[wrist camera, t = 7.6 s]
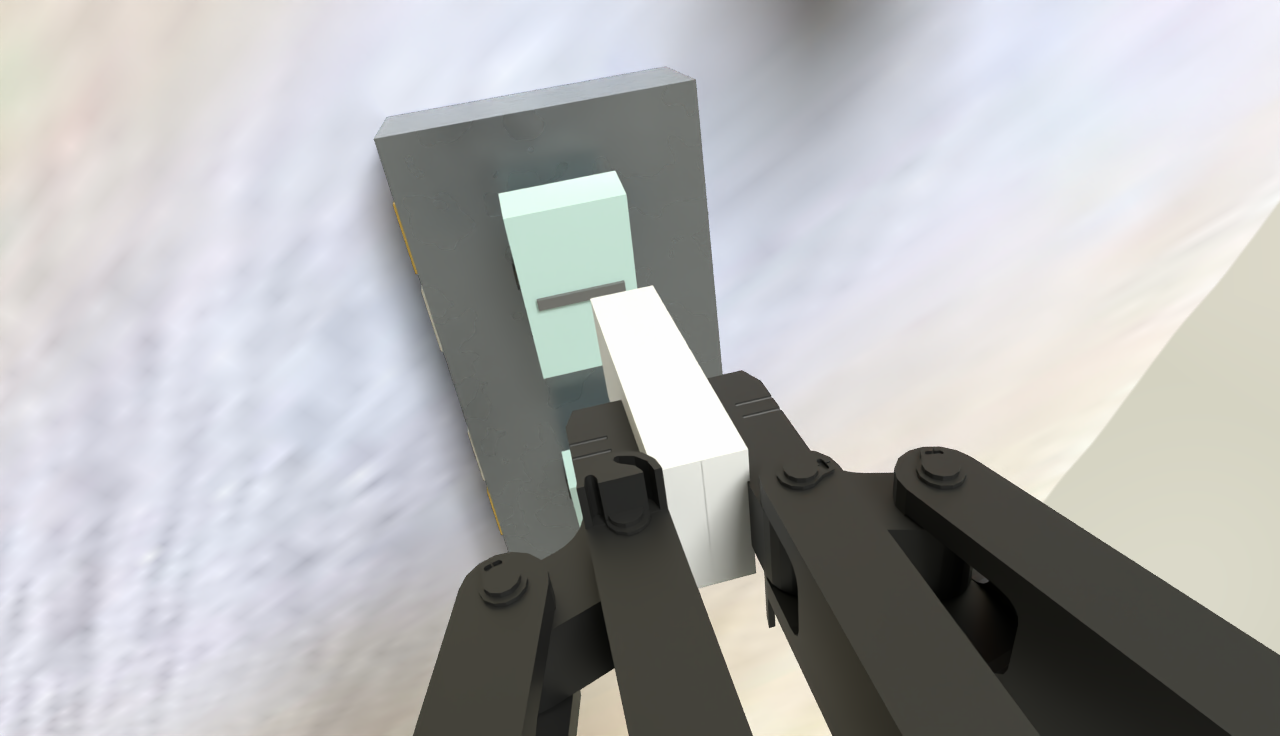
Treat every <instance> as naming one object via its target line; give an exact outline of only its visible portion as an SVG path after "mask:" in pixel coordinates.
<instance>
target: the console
mask: <svg viewBox="0 0 1280 736" xmlns="http://www.w3.org/2000/svg"><path fill="white" fill-rule="evenodd" d="M374 141H375V144H376V147H377V150H378V153H379V156H380V159H381V162H382V166H383V169H384V172H385V175H386V178H387V181H388V184H389V187H390V190H391V193H392V196H393V199H394V202H393V207H394V210H395V213H396V216H397V219H398V222H399V225H400V228H401V231H402V234H403V237H404V240H405V243H406V246H407V250H408V253H409V256H410V259H411V262H412V265H413V268H414V271H415V274H418V276H419V279H420V282H421V285H422V286H421V292H422V295H423V298H424V301H425V304H426V307H427V311H428V314H429V317H430V320H431V323H432V326H433V329H434V332H435V335H436V338H437V341H438V344H439V347H440V350H441V351H443V353H444V356H445V359H446V362H447V365H448V368H449V371H450V374H451V377H452V380H453V383H454V386H455V389H456V392H457V396H458V399H459V402H460V405H461V408H462V411H463V414H464V417H465V420H466V423H467V426H468V436H469V439H470V442H471V445H472V448H473V451H474V454H475V457H476V460H477V463H478V466H479V469H480V472H481V475H482V478H483V481H484V480H485V481H486V484H487V493H488V497H489V500H490V503H491V506H492V509H493V512H494V515H495V518H496V521H497V524H498V527H499V530H500V533H501V535H503V537H504V540H505V543H506V546H507V549H508V552H521V553H529V554H531V555H533V556H535V557H537V558H539V559H540V560H542V559H544V558H546V557H548V556H549V555H551V554H553V553H555V552H556V551H558V550H559V549H561V548H563V547H564V546H565V545H566V544H568V543H569V542H570V541H571V540H572V539H573V538H574V536H575V535H576V533H577V532H578V530H579V529H580V526H579V522H578V519H577V515H576V511H575V508H574V504H573V500H572V497H571V493H570V489H569V485H568V480H567V475H566V471H565V466H564V461H563V457H562V451H566V450H570V448H569V443H568V438H567V433H566V428H565V427H566V425H567V423H568V420H569V418H570V416H571V413H572V411H574V410H578V409H583V408H587V407H592V406H596V405H600V404H605V403H609V402H610V400H609V397H608V392H607V387H606V381H605V376H604V371H603V365H602V366H598V367H593V368H589V369H585V370H580V371H576V372H571V373H567V374H563V375H558V376H554V377H550V378H545V379H544V378H543V374H542V370H541V366H540V362H539V358H538V354H537V351H536V347H535V343H534V339H533V335H532V331H531V327H530V323H529V319H528V315H527V311H526V307H525V303H524V300H523V296H522V292H521V288H520V284H519V280H518V276H517V272H516V268H515V264H514V260H513V256H512V252H511V249H510V245H509V241H508V237H507V233H506V229H505V225H504V221H503V216H502V211H501V206H500V200H499V195H498V194H499V193H504V192H509V191H514V190H519V189H524V188H530V187H535V186H540V185H545V184H550V183H555V182H560V181H565V180H570V179H575V178H580V177H585V176H590V175H595V174H601V173H606V172H611V171H616V173H617V176H618V178H619V180H620V182H621V184H622V186H623V188H624V190H625V192H626V195H627V203H628V212H629V221H630V230H631V238H632V247H633V256H634V264H635V273H636V282H637V289H638V288H643V287H648V286H652V285H653V287H654V288H655V290H656V292H657V294H658V295H659V297H660V299H661V300H662V302H663V304H664V306H665V307H666V309H667V311H668V312H669V314H670V316H671V318H672V319H673V321H674V323H675V325H676V326H677V328H678V330H679V331H680V333H681V335H682V337H683V338H684V340H685V342H686V343H687V345H688V347H689V349H690V350H691V352H692V354H693V355H694V357H695V359H696V361H697V362H698V364H699V366H700V367H701V369H702V371H703V373H704V374H705V376H706V378H711V377H715V376H720V375H723V374H722V363H721V352H720V341H719V330H718V319H717V308H716V297H715V286H714V275H713V264H712V253H711V242H710V231H709V220H708V209H707V198H706V187H705V176H704V165H703V154H702V143H701V132H700V121H699V110H698V99H697V88H696V79H693V78H691V77H689V76H687V75H684V74H682V73H680V72H677V71H675V70H673V69H670V68H668V67H661V68H656V69H650V70H644V71H639V72H633V73H628V74H622V75H617V76H611V77H606V78H600V79H595V80H589V81H584V82H578V83H573V84H567V85H562V86H556V87H551V88H545V89H540V90H534V91H529V92H523V93H518V94H512V95H507V96H501V97H496V98H490V99H485V100H479V101H473V102H468V103H462V104H457V105H451V106H446V107H440V108H435V109H429V110H424V111H418V112H413V113H407V114H402V115H396V116H391V117H387V118H386V119H385V121H384V123H383V124H382V126H381V128H380V129H379V131H378V133H377V134H376V136H375V138H374Z"/></svg>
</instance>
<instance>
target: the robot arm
mask: <svg viewBox="0 0 1280 736" xmlns="http://www.w3.org/2000/svg"><path fill="white" fill-rule="evenodd" d="M590 301H591V306H592V312H593V317H594V322H595V328H596V333H597V339H598V344H599V349H600V355H601V360H602V365H603V371H604V376H605V381H606V387H607V392H608V397H609V400H610V402H609V403H605V404H600V405H596V406H592V407H587V408H583V409H578V410H574V411H572V413H571V416H570V418H569V420H568V423H567V425H566V427H565V428H566V433H567V438H568V443H569V448H570V453H571V457H572V462H573V467H574V472H575V477H576V482H577V485H576V490H577V494H578V499H579V503H580V507H581V512H582V516H583V520H582V523H581V526H580V529H579V530H578V532H577V533H576V535H575V536H574V538H573V539H572V540H571V541H570V542H569V543H568V544H566V545H565V546H564V547H563V548H561V549H559V550H558V551H556V552H555V553H553V554H551V555H549V556H548V557H546V558H544V559H542V560H540V559H539V558H537V557H535V556H533V555H531V554H529V553H521V552H509V553H504V554H500V555H495V556H493V557H491V558H489V559H487V560H486V561H484V562H482V563H480V564H478V565H477V566H476V567H475V568H474V569H473V570H472V571H471V572H470V573H469V574H468V575H467V576H466V577H465V579H464V581H463V583H462V585H461V587H460V588H459V591H458V594H457V597H456V601H455V604H454V607H453V610H452V613H451V616H450V620H449V623H448V626H447V629H446V632H445V635H444V639H443V642H442V645H441V648H440V651H439V655H438V658H437V661H436V664H435V667H434V670H433V674H432V677H431V680H430V683H429V686H428V689H427V693H426V696H425V699H424V702H423V705H422V709H421V712H420V715H419V718H418V721H417V724H416V728H415V731H414V734H413V736H576V735H577V726H578V717H579V707H580V698H581V692H580V690H581V689H582V688H584V687H585V686H587V685H589V684H590V683H592V682H593V681H595V680H596V679H598V678H600V677H601V676H603V675H604V674H606V673H608V672H609V671H611V670H612V669H614V668H615V672H616V676H617V681H618V686H619V691H620V695H621V700H622V705H623V710H624V714H625V719H626V724H627V729H628V733H629V736H753V735H752V732H751V730H750V727H749V724H748V722H747V719H746V716H745V713H744V711H743V708H742V705H741V703H740V700H739V697H738V695H737V692H736V689H735V687H734V684H733V681H732V679H731V676H730V673H729V671H728V668H727V665H726V662H725V660H724V657H723V654H722V652H721V649H720V646H719V644H718V641H717V638H716V636H715V633H714V630H713V628H712V625H711V622H710V619H709V617H708V614H707V611H706V609H705V606H704V603H703V601H702V598H701V595H700V593H699V590H698V588H702V587H705V586H709V585H713V584H717V583H721V582H724V581H728V580H732V579H736V578H740V577H743V576H747V575H751V574H755V573H756V566H755V554H756V556H757V558H758V560H759V562H760V564H761V566H762V568H763V570H764V575H765V593H766V611H767V620H768V625H769V628H771V627H775V615H776V617H777V619H778V621H779V623H780V625H781V627H782V630H783V632H784V634H785V636H786V638H787V640H788V642H789V644H790V647H791V649H792V651H793V653H794V655H795V657H796V659H797V661H798V664H799V666H800V668H801V670H802V672H803V674H804V676H805V678H806V681H807V683H808V685H809V687H810V689H811V691H812V693H813V695H814V698H815V700H816V702H817V704H818V706H819V708H820V710H821V712H822V715H823V717H824V719H825V721H826V723H827V725H828V727H829V729H830V732H831V734H832V736H1280V655H1279V654H1277V653H1276V652H1274V651H1272V650H1271V649H1269V648H1268V647H1266V646H1264V645H1263V644H1262V643H1260V642H1258V641H1257V640H1255V639H1254V638H1252V637H1251V636H1249V635H1248V634H1246V633H1244V632H1243V631H1241V630H1240V629H1238V628H1237V627H1235V626H1233V625H1232V624H1230V623H1229V622H1227V621H1226V620H1224V619H1223V618H1221V617H1219V616H1218V615H1216V614H1215V613H1213V612H1212V611H1210V610H1209V609H1207V608H1205V607H1204V606H1202V605H1201V604H1199V603H1198V602H1196V601H1195V600H1193V599H1191V598H1190V597H1188V596H1187V595H1185V594H1184V593H1182V592H1180V591H1179V590H1178V589H1176V588H1174V587H1173V586H1171V585H1170V584H1168V583H1167V582H1165V581H1164V580H1162V579H1160V578H1159V577H1157V576H1156V575H1154V574H1153V573H1151V572H1149V571H1148V570H1146V569H1145V568H1143V567H1142V566H1140V565H1139V564H1137V563H1135V562H1134V561H1132V560H1131V559H1129V558H1128V557H1126V556H1125V555H1123V554H1122V553H1120V552H1118V551H1117V550H1115V549H1113V548H1112V547H1111V546H1109V545H1108V544H1106V543H1104V542H1103V541H1101V540H1100V539H1098V538H1096V537H1095V536H1093V535H1092V534H1090V533H1089V532H1087V531H1086V530H1084V529H1083V528H1081V527H1079V526H1078V525H1076V524H1075V523H1073V522H1072V521H1070V520H1069V519H1067V518H1066V517H1064V516H1062V515H1061V514H1059V513H1058V512H1056V511H1055V510H1053V509H1052V508H1050V507H1048V506H1047V505H1045V504H1044V503H1042V502H1041V501H1039V500H1038V499H1036V498H1034V497H1033V496H1031V495H1030V494H1028V493H1027V492H1025V491H1024V490H1022V489H1020V488H1019V487H1017V486H1016V485H1014V484H1013V483H1011V482H1010V481H1008V480H1006V479H1005V478H1003V477H1002V476H1000V475H999V474H997V473H996V472H994V471H992V470H991V469H989V468H988V467H986V466H985V465H983V464H982V463H980V462H978V461H977V460H975V459H974V458H972V457H970V456H968V455H966V454H964V453H962V452H959V451H957V450H953V449H948V448H944V447H921V448H917V449H914V450H910V451H908V452H906V453H905V454H904V455H902V456H901V457H900V458H898V461H897V463H896V466H895V468H894V473H855V472H848V471H843V470H842V468H841V467H840V466H839V465H838V464H837V463H836V462H835V461H834V460H833V459H831V458H830V457H828V456H826V455H824V454H821V453H819V452H816V451H810V449H809V448H808V447H807V445H806V444H805V442H804V441H803V439H802V438H801V437H800V435H799V434H798V432H797V431H796V430H795V428H794V427H793V425H792V424H791V423H790V421H789V420H788V418H787V417H786V416H785V414H784V413H783V411H782V410H780V408H779V406H778V404H777V403H776V402H775V400H774V399H773V398H772V397H771V394H770V393H769V392H768V390H767V389H766V387H765V386H764V385H763V383H762V382H761V381H760V380H758V379H757V378H755V377H753V376H751V375H749V374H748V373H746V372H744V371H742V370H741V371H737V372H733V373H728V374H724V375H720V376H715V377H711V378H706V376H705V374H704V373H703V371H702V369H701V367H700V366H699V364H698V362H697V361H696V359H695V357H694V355H693V354H692V352H691V350H690V349H689V347H688V345H687V343H686V342H685V340H684V338H683V337H682V335H681V333H680V331H679V330H678V328H677V326H676V325H675V323H674V321H673V319H672V318H671V316H670V314H669V312H668V311H667V309H666V307H665V306H664V304H663V302H662V300H661V299H660V297H659V295H658V294H657V292H656V290H655V288H654V287H653V285H652V286H648V287H643V288H638V289H633V290H629V291H624V292H619V293H614V294H610V295H605V296H600V297H595V298H591V299H590Z"/></svg>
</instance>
